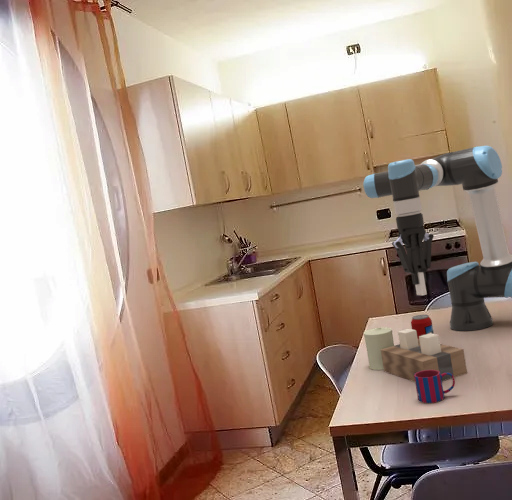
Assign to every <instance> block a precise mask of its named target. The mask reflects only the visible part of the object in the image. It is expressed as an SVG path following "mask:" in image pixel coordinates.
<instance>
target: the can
mask: <svg viewBox="0 0 512 500" xmlns="http://www.w3.org/2000/svg"><path fill="white" fill-rule="evenodd" d="M363 336H364V337H363V338H364V341H365V347H366V348H365V349H366V353H367V359H368V360H367V361H368V367H369V369H370V370H374V371H384V367H383V361H382V355H381V349H385V348H388V347H391V346H395V342H394V336H393V329H392V328H391V327H386V326H385V327H375V328H370V329H367V330H365V331H364V332H363Z"/></svg>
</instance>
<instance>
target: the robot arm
mask: <svg viewBox="0 0 512 500" xmlns="http://www.w3.org/2000/svg"><path fill="white" fill-rule="evenodd" d="M502 169H503V165H502V161H501V158H500V156H499V153H498V152H497V150H496V149H494V148H493V146H490V145H480V146H474V147H468V148H463V149H461V150H457V151H451V152H447V153H444V154H440V155H438V156H436V157H433V158H430V159H425V160H424V161H422V162H421V163H420V164H415V162H414V160H413V159H411V158H409V159H402V160H396V161H393V162H390V163H388V166H387V171H381V172H377V173H375V172H374V173H372V174H369V175H366V176H365V178H364V179H363V190H364V194H365V195H366V196H367V197H368V198H371V199H375V198H376V199H377V198H378V199H379V198H384V197H389V196H391V197H392V202H393V203H392V204H393V208H394V214H395V215H396V218H395V222H396V228H397V230H398V234H397V236H398V237H397V239H396V240H395V241H393V242H392V243H391V244H392V246H393V248H394V249H395V250H396V253H397V256H398V257H399V261H400V263H401V266H402V267H403V271H404V273H409V274H410V275H411V280H412V281H411V282H412V284H413V285H414V286H415V291H416V292H415V293H416V296H425V295H427V294H428V293H427V286H426V283H427V274H426V272H427V271H428V269H430V268H431V267H432V242H433V239H434V234H432V233H431V234H429V232H427V231H426V229H425V227H424V225H425V222H424V215H423V213H422V212H421V211H423V207H422V202H421V197H420V192H421V191H425V190H426V191H428V190H429V189H433V188H434V187H443V186H445V187H447V186H459V185H461V186H462V189H463V192H465V193H467V194H468V196H469V200H470V204H471V209H472V214H473V217H474V222H475V228H476V232H477V236H478V240H479V244H480V249H481V252H482V257H483V258H482V260H480V263H479V262H478V261H471V262H465V263H462V264H458V265H455V266H451V267H450V268H448V270H447V271H446V277H447V278H446V279H447V285H448V292H449V297H450V302H451V304H450V305H451V312H450V319H449V326H450V329H451V330H453V331H459V332H462V331H463V332H465V331H466V332H467V331H477V330H482V329H486V328H489V327H491V326H492V325H494V321H493V317H492V315H491V312H490V311H489V309H488V307H487V305H486V303H485V299H487V298H492V299H493V298H506V299H507V298H512V254H511V253H510V252H509V248H508V242H507V238H506V234H505V233H506V232H505V230H504V224H503V219H502V216H501V211H500V206H499V201H498V196H497V193H496V187H497V185H498V184H499V179H500V177H501V176H502V173H503V170H502Z"/></svg>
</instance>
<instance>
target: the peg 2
mask: <svg viewBox="0 0 512 500" xmlns="http://www.w3.org/2000/svg"><path fill="white" fill-rule="evenodd" d="M419 340H420V346H421V352H422V354H426V355H429V356H430V355H434V354H437V353H440V352H441V346H440V344H441V341H440V340H441V339H440V335H439V334H436V333H434V334H432V333H429V334H426V335H422V336H419Z"/></svg>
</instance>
